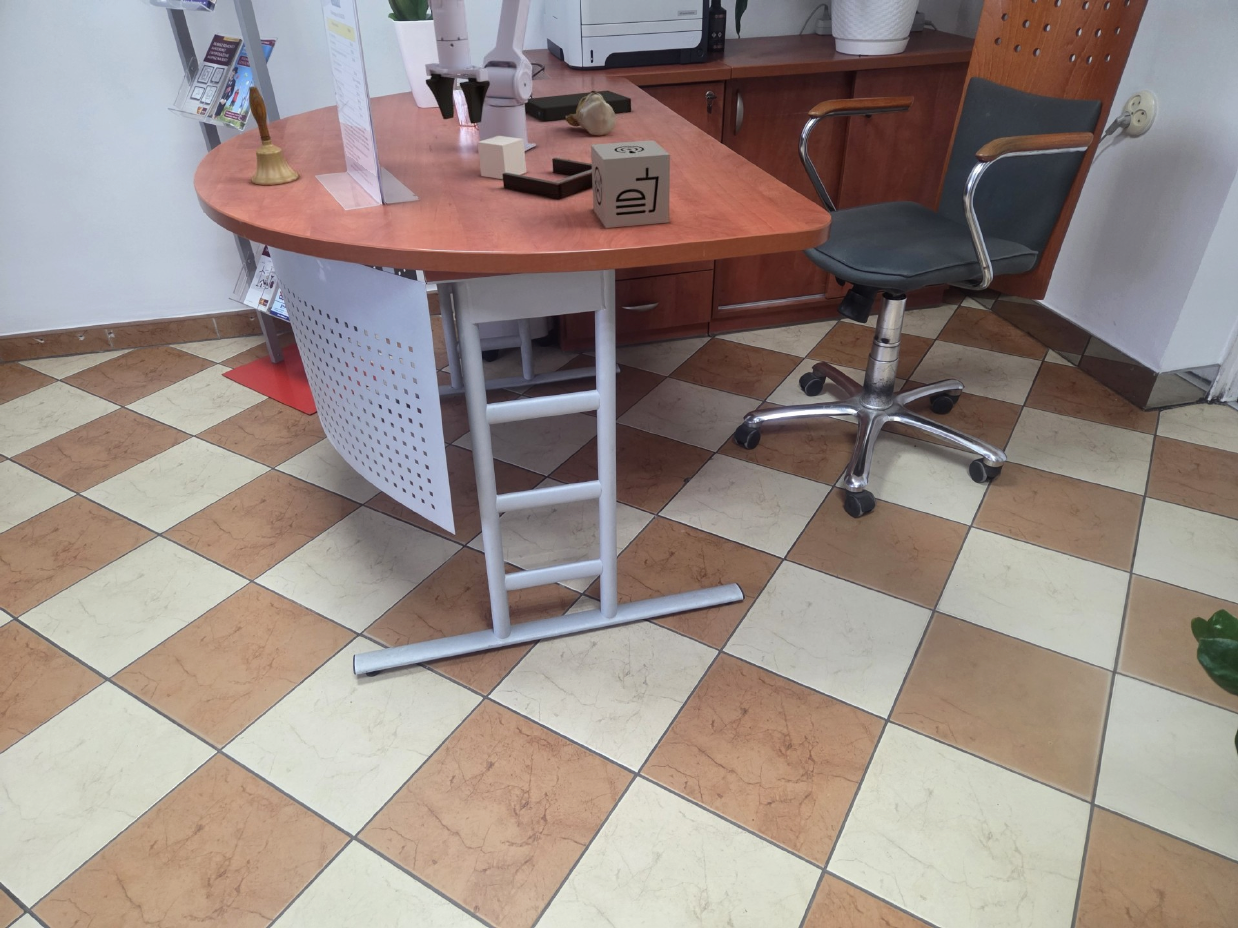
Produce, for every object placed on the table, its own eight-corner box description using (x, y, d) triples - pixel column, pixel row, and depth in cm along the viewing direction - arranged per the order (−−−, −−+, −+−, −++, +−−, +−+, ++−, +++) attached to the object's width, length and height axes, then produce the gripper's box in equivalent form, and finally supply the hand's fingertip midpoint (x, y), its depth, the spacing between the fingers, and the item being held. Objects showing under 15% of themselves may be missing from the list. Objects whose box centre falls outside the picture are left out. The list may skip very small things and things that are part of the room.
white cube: (481, 176, 150) (477, 142, 146) (501, 169, 154) (498, 135, 150) (506, 180, 147) (502, 145, 143) (526, 172, 151) (523, 138, 148)
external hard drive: (631, 111, 198) (630, 98, 196) (543, 122, 190) (542, 108, 188) (607, 103, 209) (607, 90, 207) (523, 112, 201) (522, 99, 199)
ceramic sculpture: (578, 95, 168) (560, 89, 180) (580, 139, 172) (563, 130, 185) (626, 92, 171) (605, 86, 183) (627, 135, 175) (607, 127, 187)
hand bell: (307, 175, 153) (286, 83, 144) (279, 186, 146) (255, 91, 137) (272, 172, 155) (249, 82, 146) (242, 183, 149) (216, 90, 140)
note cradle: (503, 188, 142) (501, 172, 140) (556, 171, 151) (555, 156, 150) (558, 200, 135) (557, 183, 134) (610, 181, 144) (610, 165, 143)
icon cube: (669, 222, 123) (669, 154, 118) (605, 228, 122) (603, 159, 116) (653, 204, 132) (653, 140, 126) (593, 209, 130) (590, 144, 124)
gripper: (408, 39, 144) (420, 120, 152) (463, 44, 137) (473, 128, 144) (438, 35, 149) (448, 114, 157) (493, 39, 141) (501, 121, 149)
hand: (462, 120), depth 151 cm, fingers open, 7 cm apart
